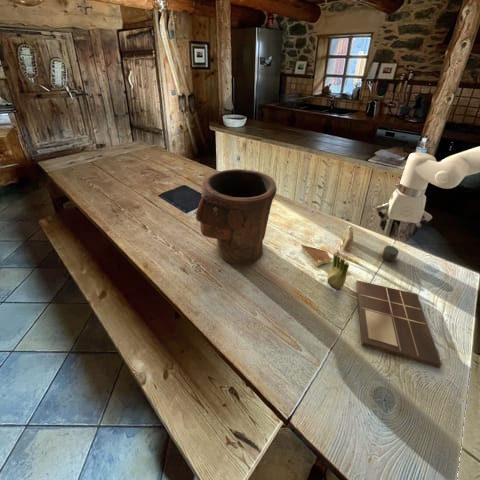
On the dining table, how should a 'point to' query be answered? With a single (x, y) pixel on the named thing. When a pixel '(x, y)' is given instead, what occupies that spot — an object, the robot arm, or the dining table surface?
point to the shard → (317, 255)
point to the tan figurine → (347, 239)
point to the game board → (395, 323)
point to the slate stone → (390, 254)
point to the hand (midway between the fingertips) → (396, 230)
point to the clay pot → (236, 213)
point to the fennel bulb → (337, 272)
